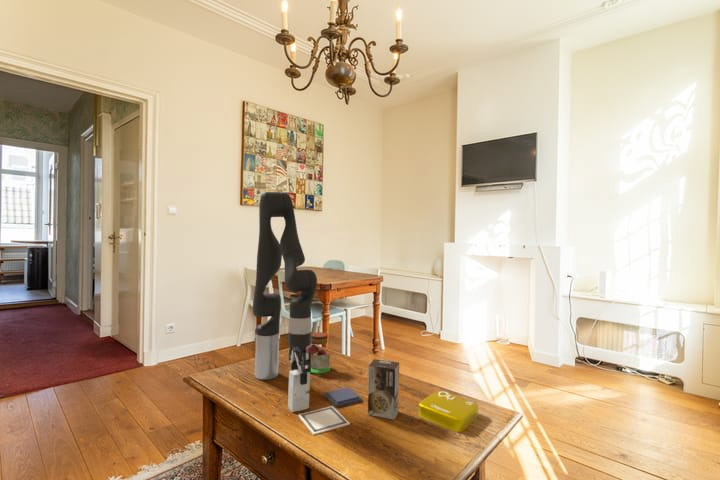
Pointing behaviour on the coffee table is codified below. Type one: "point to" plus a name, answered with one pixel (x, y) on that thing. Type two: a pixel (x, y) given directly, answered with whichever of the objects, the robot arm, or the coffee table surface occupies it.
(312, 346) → the multicoloured piece
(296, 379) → the skincare box
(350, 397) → the ink pad
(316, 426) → the marked card
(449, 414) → the element tile
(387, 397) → the coffee box
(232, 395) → the coffee table surface
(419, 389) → the coffee table surface
